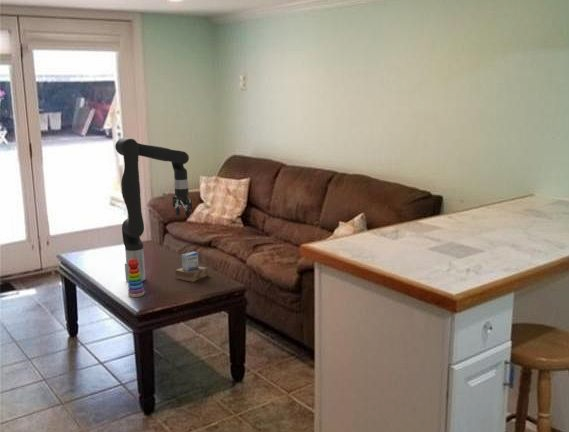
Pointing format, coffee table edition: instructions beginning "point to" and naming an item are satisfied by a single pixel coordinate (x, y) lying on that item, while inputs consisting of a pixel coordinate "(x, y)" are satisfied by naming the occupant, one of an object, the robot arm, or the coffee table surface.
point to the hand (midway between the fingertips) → (182, 216)
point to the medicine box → (189, 261)
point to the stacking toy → (135, 279)
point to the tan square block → (191, 274)
